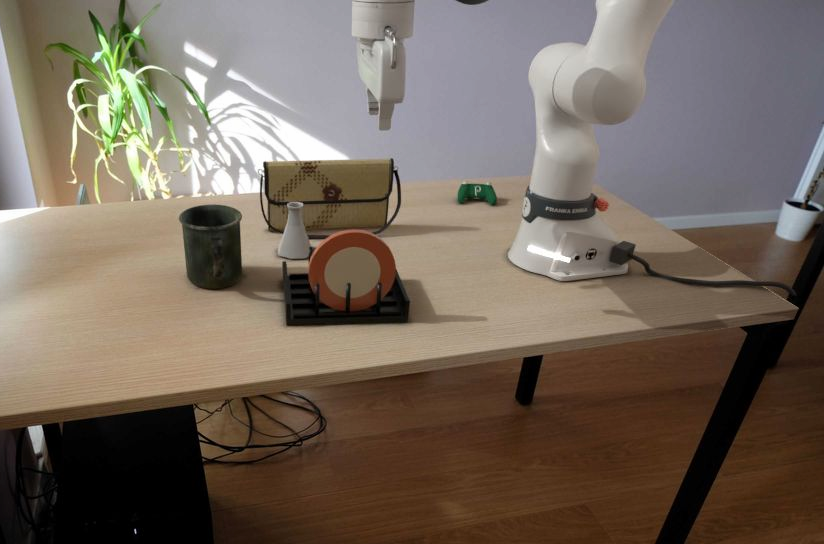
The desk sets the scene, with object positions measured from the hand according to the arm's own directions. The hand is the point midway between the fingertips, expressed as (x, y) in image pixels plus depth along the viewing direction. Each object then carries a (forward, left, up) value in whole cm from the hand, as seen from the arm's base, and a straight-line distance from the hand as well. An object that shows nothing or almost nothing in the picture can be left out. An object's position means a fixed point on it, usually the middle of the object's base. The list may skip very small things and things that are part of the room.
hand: (378, 121), depth 102 cm
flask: (+12, -18, -30) cm, 37 cm away
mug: (+27, -6, -30) cm, 41 cm away
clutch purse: (+4, -28, -30) cm, 41 cm away
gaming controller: (-33, -46, -30) cm, 64 cm away
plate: (+4, +8, -22) cm, 23 cm away
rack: (+5, +3, -30) cm, 30 cm away
